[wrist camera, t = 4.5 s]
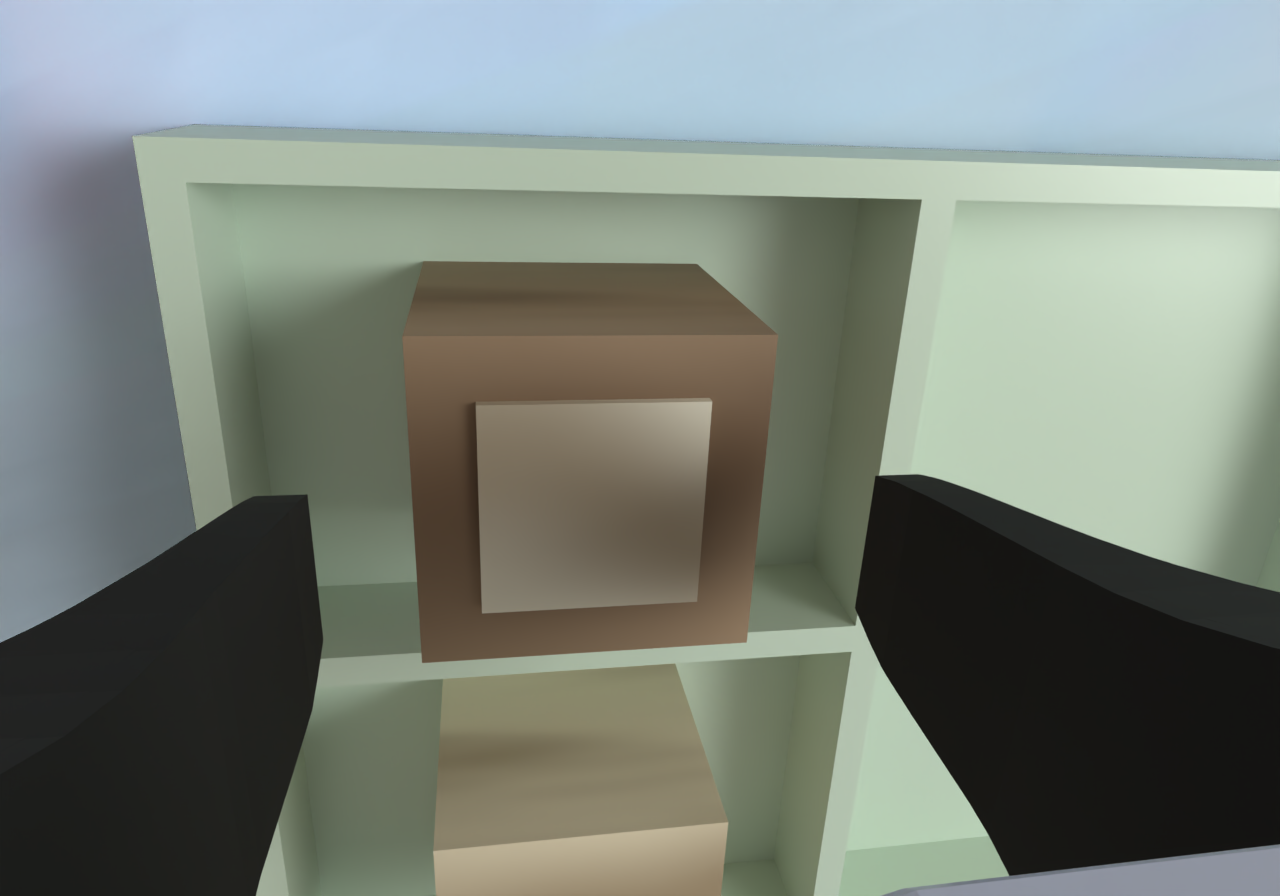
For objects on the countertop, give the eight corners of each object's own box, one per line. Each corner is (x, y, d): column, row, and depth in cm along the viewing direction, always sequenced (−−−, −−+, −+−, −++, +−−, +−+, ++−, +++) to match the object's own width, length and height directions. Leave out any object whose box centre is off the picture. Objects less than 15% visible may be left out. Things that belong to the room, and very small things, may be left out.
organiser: (1176, 817, 26) (1259, 904, 23) (302, 910, 22) (278, 1029, 19) (1403, 164, 19) (1557, 180, 16) (194, 123, 15) (132, 136, 12)
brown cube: (681, 504, 19) (749, 648, 14) (435, 512, 18) (421, 669, 13) (697, 263, 17) (781, 337, 12) (423, 261, 16) (401, 340, 11)
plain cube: (660, 823, 22) (707, 1019, 18) (452, 844, 21) (445, 1054, 17) (671, 652, 20) (728, 822, 16) (443, 667, 19) (433, 851, 15)
